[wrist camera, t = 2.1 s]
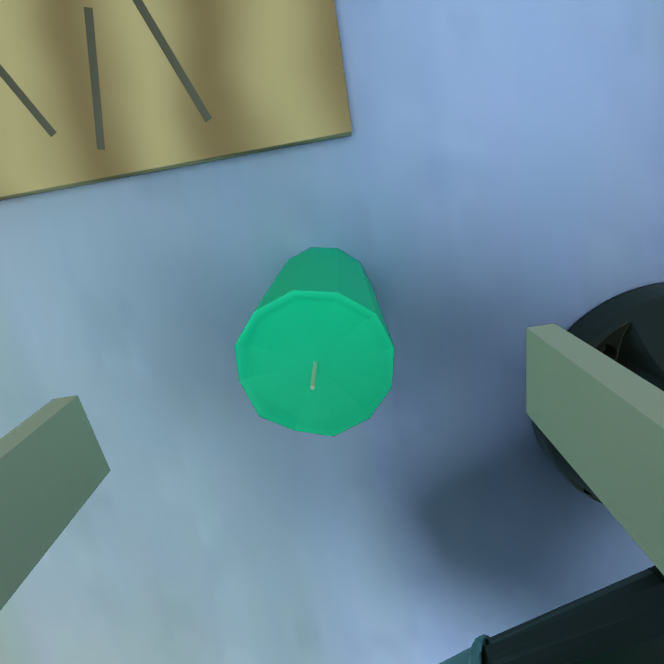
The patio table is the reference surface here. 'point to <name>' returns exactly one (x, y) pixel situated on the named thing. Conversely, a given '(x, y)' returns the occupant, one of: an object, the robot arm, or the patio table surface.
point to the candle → (317, 346)
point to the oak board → (160, 85)
